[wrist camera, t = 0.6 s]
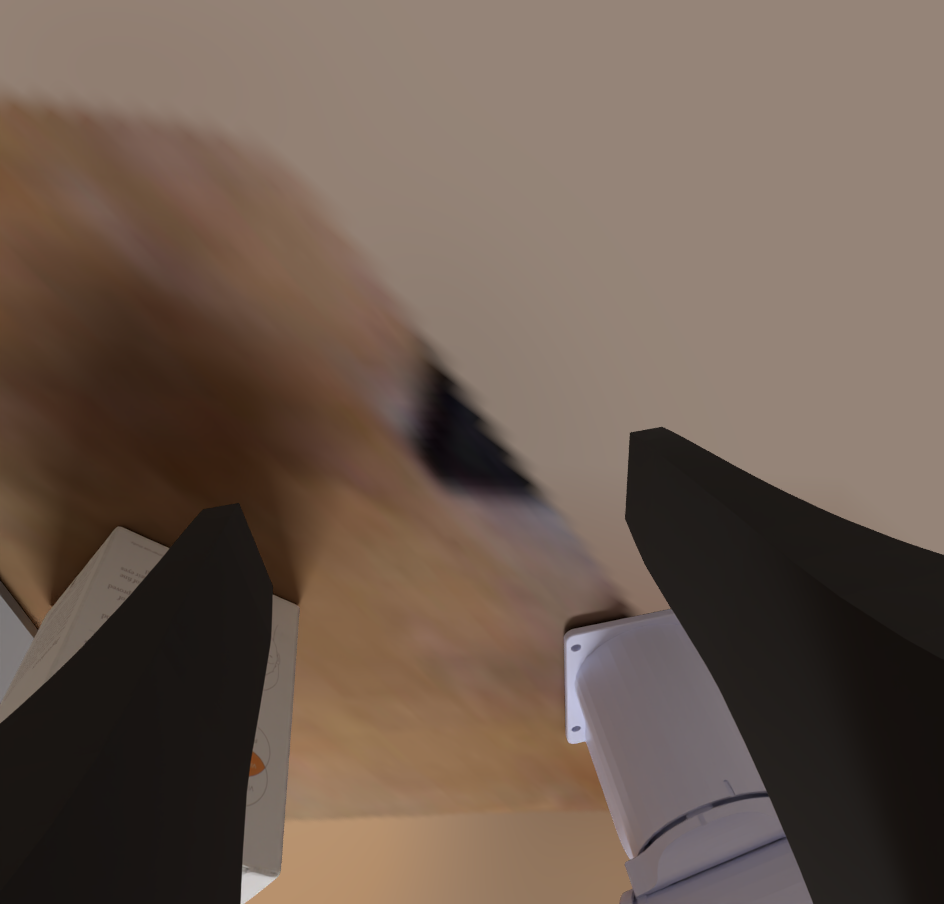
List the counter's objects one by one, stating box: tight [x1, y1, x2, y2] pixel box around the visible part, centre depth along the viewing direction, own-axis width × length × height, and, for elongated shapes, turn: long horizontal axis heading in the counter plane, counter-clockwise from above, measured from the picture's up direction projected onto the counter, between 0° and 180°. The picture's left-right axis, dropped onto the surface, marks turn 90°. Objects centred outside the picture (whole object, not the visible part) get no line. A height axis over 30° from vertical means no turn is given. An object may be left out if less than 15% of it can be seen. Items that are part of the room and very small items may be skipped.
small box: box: [0, 526, 300, 904], centre depth 21 cm, size 8×6×10 cm
